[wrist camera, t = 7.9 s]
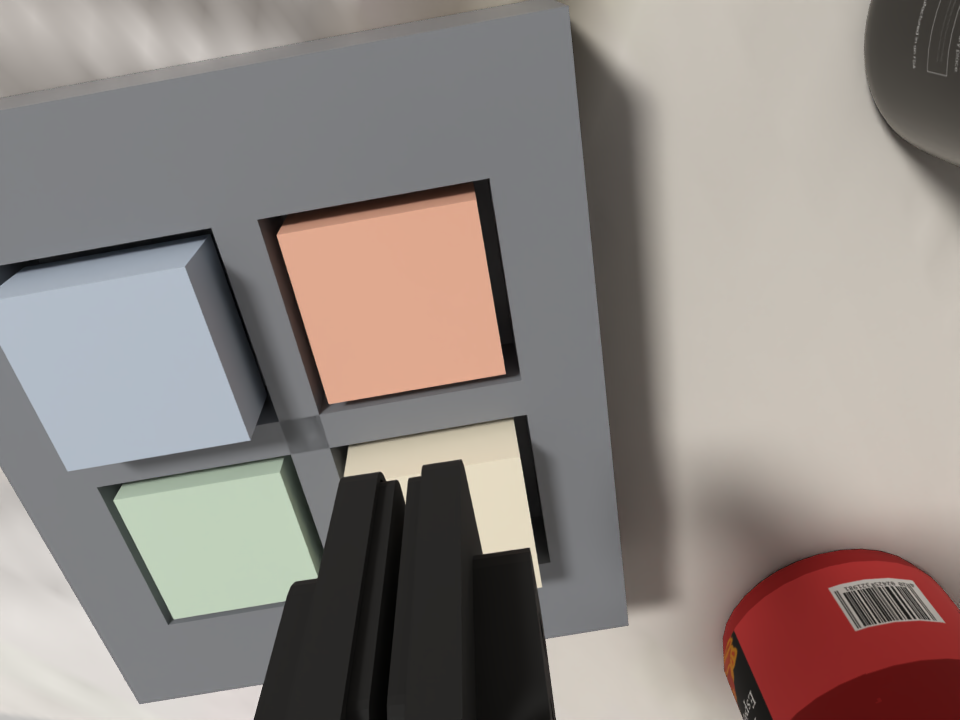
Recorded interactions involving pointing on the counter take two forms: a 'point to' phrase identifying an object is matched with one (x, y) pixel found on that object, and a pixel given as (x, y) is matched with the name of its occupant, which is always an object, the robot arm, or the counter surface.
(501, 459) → the sand key
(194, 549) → the sage key
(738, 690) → the canned food
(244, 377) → the slate key
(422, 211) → the terracotta key
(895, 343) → the counter surface
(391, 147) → the keypad
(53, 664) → the counter surface
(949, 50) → the supplement bottle
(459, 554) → the robot arm
